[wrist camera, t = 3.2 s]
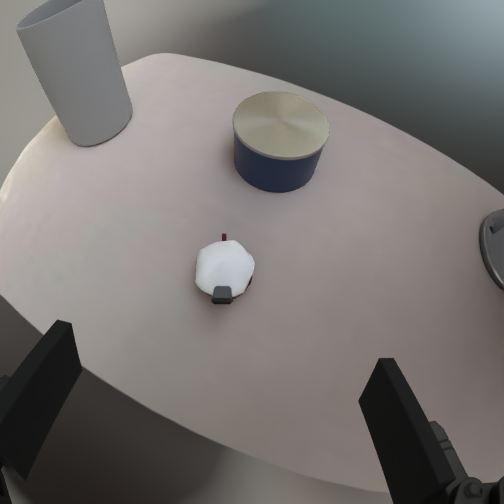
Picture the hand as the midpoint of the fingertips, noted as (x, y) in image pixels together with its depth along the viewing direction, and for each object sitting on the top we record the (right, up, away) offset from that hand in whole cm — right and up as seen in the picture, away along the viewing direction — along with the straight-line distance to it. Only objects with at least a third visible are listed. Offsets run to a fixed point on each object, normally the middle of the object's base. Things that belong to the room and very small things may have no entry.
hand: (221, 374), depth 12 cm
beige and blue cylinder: (+5, +19, +32) cm, 37 cm away
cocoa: (-2, +1, +25) cm, 25 cm away
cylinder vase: (-26, +28, +34) cm, 51 cm away
